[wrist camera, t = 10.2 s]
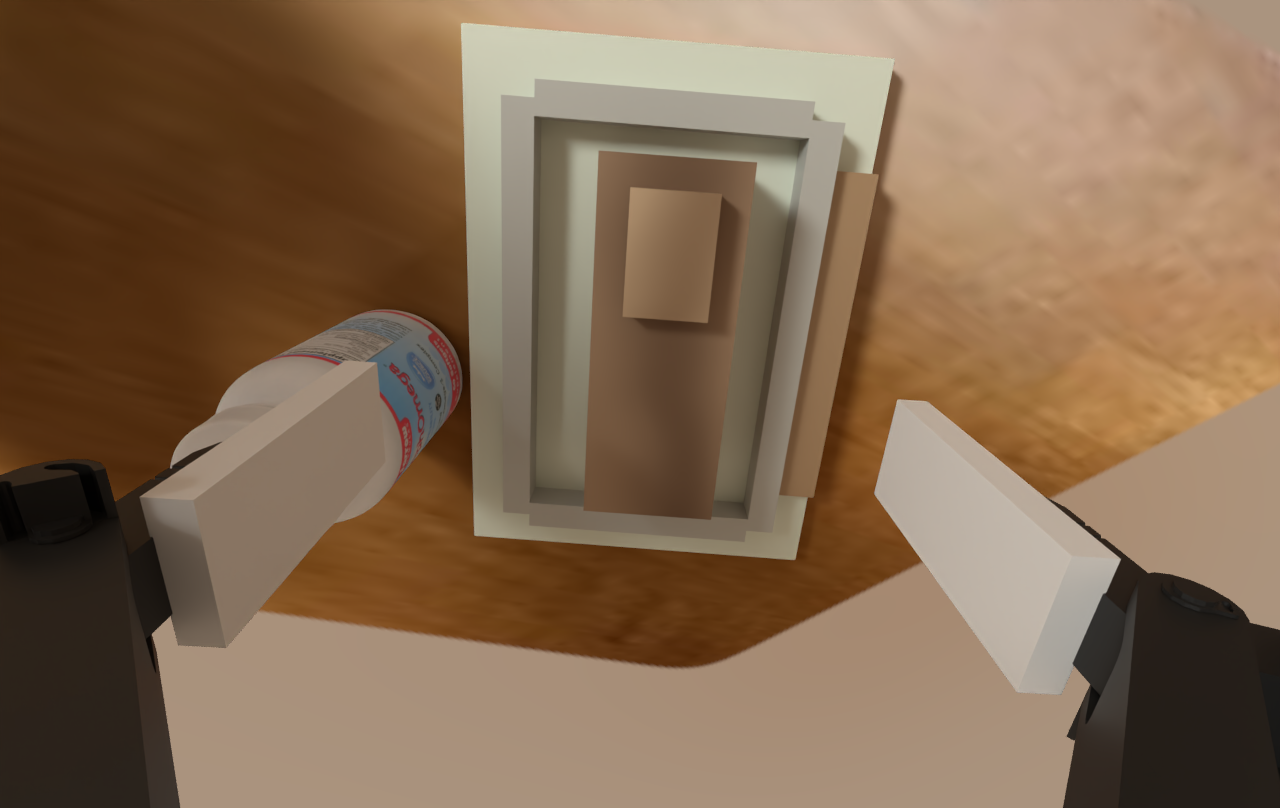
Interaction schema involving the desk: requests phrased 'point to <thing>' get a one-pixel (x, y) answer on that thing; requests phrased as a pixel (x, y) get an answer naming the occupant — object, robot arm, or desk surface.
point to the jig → (564, 263)
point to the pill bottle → (408, 383)
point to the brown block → (663, 329)
